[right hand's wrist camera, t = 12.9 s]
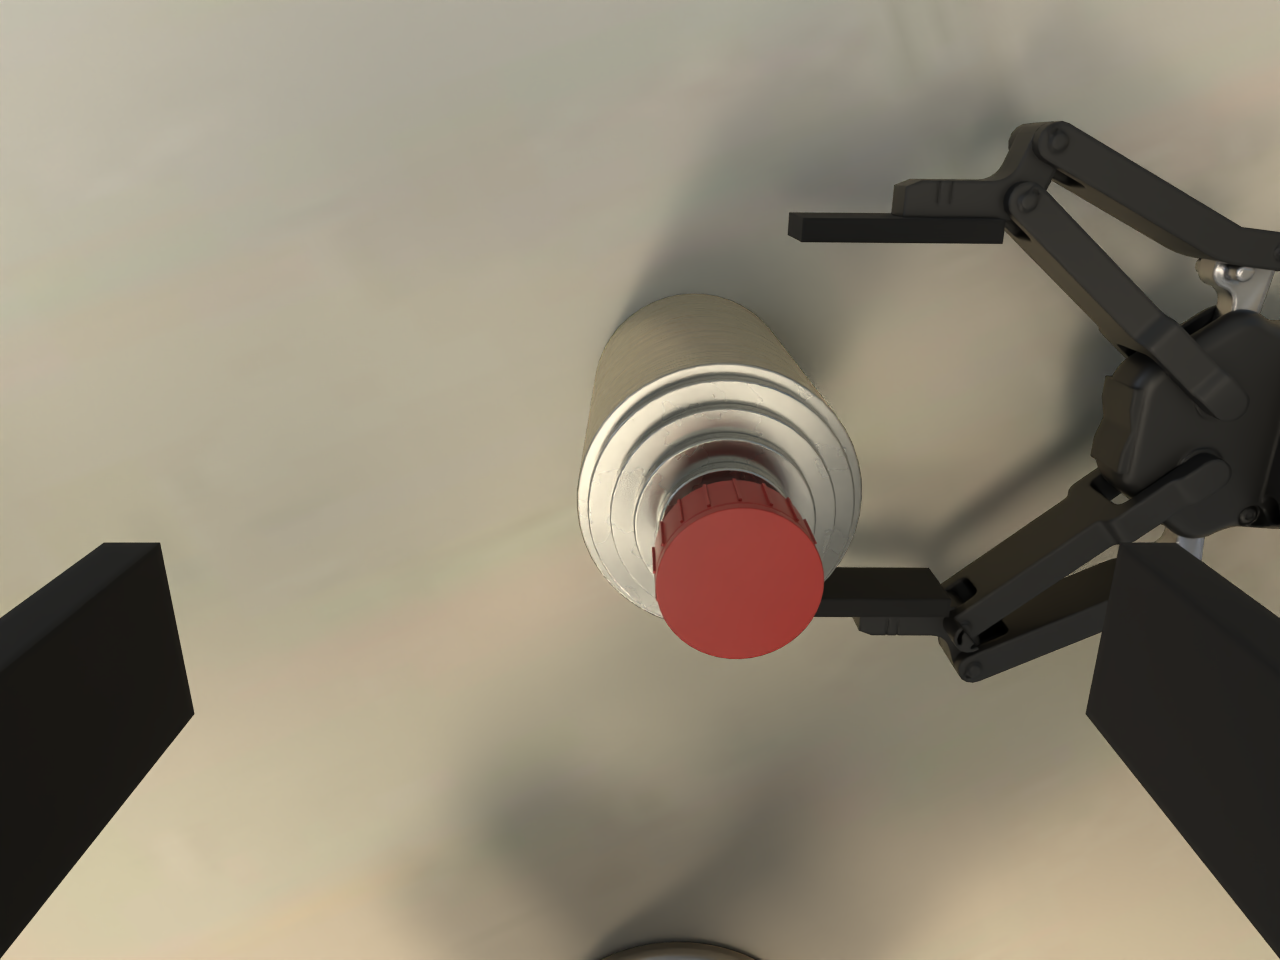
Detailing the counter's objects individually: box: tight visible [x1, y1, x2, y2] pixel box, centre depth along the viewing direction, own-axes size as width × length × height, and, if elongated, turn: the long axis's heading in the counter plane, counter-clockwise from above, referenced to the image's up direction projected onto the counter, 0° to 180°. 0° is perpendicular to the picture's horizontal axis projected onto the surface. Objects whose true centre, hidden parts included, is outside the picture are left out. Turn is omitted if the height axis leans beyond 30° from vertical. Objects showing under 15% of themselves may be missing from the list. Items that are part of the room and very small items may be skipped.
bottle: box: [577, 294, 862, 619], centre depth 30 cm, size 8×8×18 cm
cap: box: [652, 478, 824, 659], centre depth 22 cm, size 4×4×2 cm
